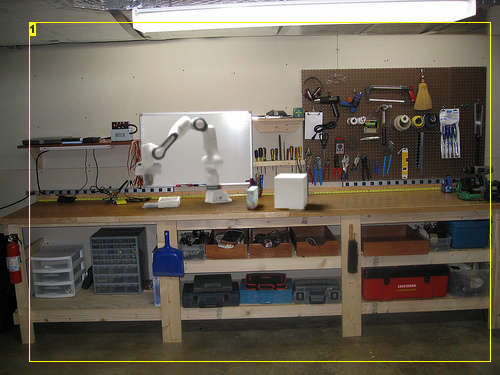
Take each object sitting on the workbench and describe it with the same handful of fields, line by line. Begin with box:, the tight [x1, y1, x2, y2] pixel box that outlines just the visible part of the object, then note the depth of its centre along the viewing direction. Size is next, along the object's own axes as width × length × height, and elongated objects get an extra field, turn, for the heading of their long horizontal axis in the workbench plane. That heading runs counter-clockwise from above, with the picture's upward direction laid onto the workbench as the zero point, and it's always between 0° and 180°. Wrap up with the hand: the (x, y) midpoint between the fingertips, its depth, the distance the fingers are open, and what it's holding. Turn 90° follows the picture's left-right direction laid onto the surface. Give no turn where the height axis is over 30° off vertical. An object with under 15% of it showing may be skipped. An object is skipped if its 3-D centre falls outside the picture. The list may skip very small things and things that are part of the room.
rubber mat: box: [141, 202, 158, 209], centre depth 302 cm, size 11×16×1 cm
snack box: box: [246, 185, 259, 210], centre depth 288 cm, size 21×6×15 cm, turn 168°
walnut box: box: [143, 174, 154, 187], centre depth 299 cm, size 5×12×9 cm, turn 6°
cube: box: [273, 173, 308, 210], centre depth 286 cm, size 25×21×24 cm
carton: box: [157, 196, 181, 209], centre depth 304 cm, size 16×18×5 cm
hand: (148, 180), depth 299 cm, fingers closed on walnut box, 5 cm apart
